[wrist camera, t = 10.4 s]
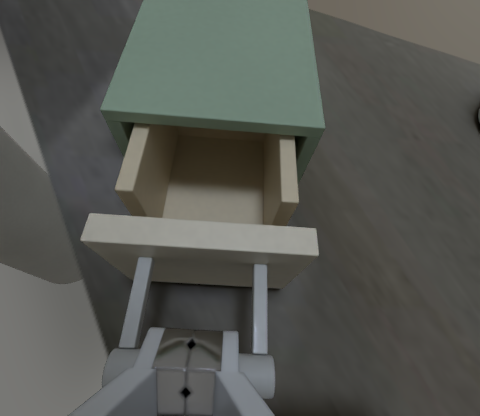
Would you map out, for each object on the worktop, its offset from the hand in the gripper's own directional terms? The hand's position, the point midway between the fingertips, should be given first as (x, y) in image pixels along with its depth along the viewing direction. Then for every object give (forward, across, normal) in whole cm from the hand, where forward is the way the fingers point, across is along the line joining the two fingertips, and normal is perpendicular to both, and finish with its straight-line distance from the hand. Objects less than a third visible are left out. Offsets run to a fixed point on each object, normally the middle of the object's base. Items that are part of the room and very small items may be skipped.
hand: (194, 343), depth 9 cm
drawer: (+9, 0, 0) cm, 9 cm away
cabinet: (+16, 0, -6) cm, 17 cm away
